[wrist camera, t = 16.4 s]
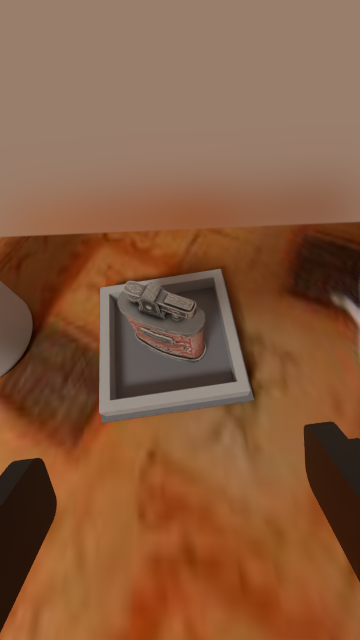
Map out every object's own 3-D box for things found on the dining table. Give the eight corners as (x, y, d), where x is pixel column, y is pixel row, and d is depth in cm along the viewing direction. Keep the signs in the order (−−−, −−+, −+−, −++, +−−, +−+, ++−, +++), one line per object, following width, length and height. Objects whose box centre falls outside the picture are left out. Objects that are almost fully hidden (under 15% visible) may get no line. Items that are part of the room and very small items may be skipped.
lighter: (131, 343, 30) (99, 295, 22) (144, 317, 32) (120, 262, 23) (199, 369, 28) (194, 328, 20) (210, 341, 30) (211, 290, 21)
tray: (223, 277, 34) (224, 264, 32) (253, 400, 27) (257, 395, 25) (103, 296, 34) (96, 285, 32) (103, 422, 27) (93, 419, 25)
